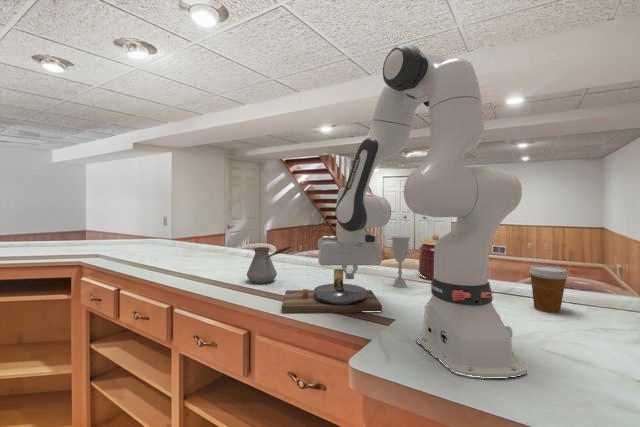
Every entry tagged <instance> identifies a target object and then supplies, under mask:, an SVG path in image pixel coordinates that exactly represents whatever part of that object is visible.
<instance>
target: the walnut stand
mask: <svg viewBox="0 0 640 427" xmlns="http://www.w3.org/2000/svg"><path fill="white" fill-rule="evenodd" d="M366 290H367V299H366V300H365V301H363V302H361V303H357V304H351V305H333V304H326V303H322V302H319V301H317V300H316V299H315V298H314V289H313V290H312V289H309V288H303V289H299V290H298V289H297V290H295V289H293V290H292V289H288V290H285V293H284V297H283V300H282V304H281V314H335V313H336V314H341V313H342V314H343V313H345V314H347V313H351V314H352V312H362V311H381V312H382V311H383V310H382V307H383V305H382V303H381V302H380V301H379V299H378V298H377V296H376V295H375V294H374V292H373V290H372V289H366Z"/></svg>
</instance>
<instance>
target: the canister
mask: <svg viewBox="0 0 640 427" xmlns="http://www.w3.org/2000/svg"><path fill="white" fill-rule="evenodd" d="M431 237H432V238H427V239H424V240H423V241H421V244H422V245H420V246H419V247H418V250H419V254H418V259H419V260H418V273H419V272H420V274H421V275H422V276H424V277H426V278H429V279H432V277H433V276H434V247H435V245H436V243H437V241H438V240H439V239H440V236H439V235H438V234H433V235H432V236H431ZM429 279H428V280H429Z"/></svg>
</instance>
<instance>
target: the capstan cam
mask: <svg viewBox="0 0 640 427" xmlns="http://www.w3.org/2000/svg"><path fill="white" fill-rule="evenodd" d="M313 290H314V298H315V299H316V300H317V301H319V302H322V303H326V304H333V305H351V304H357V303H361V302H363V301H365V300H366V299H367V290H368V289H366V288H364V287H363V286H360V285H356V284H351V283H344V270H343V269H342V268H334V269H333V283H326V284H321V285H317V286H315V288H314V289H313Z"/></svg>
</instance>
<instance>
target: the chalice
mask: <svg viewBox="0 0 640 427" xmlns="http://www.w3.org/2000/svg"><path fill="white" fill-rule="evenodd" d="M390 237H391V242H392V244H391V245H392V248H391V250H392V254H393V256H394V258H395V261H396V262H398V267H397V268H398V271H397V274H398V277H397V278H395V280H394V282H393V284H392V286H393V287H394V288H395V287H396V288H406V287H407V284H406V280H405V279H404V278H403V277H402V274H403V272H402V269H403V267H402V263H403V262H405V260H406V258H407V256H408V254H409V250H410V249H409V248H410V247H409V246H410V245H409V242H410V239H411V238H410V237H411V236H406V235H393V236H390Z"/></svg>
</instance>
